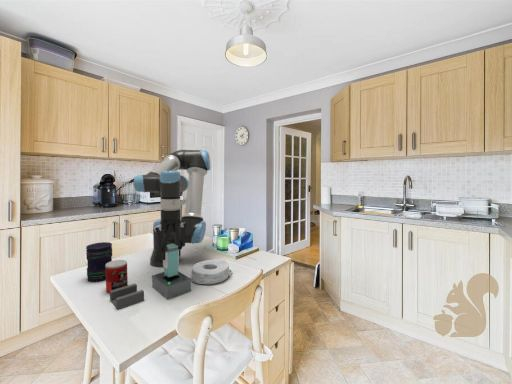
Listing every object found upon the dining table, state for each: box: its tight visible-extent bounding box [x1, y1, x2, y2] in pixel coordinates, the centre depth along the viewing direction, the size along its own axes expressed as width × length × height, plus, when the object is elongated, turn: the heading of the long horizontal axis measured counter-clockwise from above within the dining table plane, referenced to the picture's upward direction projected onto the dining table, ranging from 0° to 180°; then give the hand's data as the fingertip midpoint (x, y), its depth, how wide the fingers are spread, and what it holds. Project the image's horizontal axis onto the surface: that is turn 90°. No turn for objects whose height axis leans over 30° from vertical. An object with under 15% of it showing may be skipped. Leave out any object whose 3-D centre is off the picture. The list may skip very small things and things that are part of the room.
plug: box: [163, 244, 179, 277], centre depth 99 cm, size 4×4×12 cm
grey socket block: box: [151, 270, 192, 300], centre depth 100 cm, size 14×10×6 cm
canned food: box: [105, 259, 129, 294], centre depth 99 cm, size 8×8×11 cm
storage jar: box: [85, 241, 113, 283], centre depth 109 cm, size 10×10×15 cm
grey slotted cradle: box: [109, 283, 145, 311], centre depth 90 cm, size 9×9×4 cm
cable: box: [190, 259, 233, 285], centre depth 112 cm, size 18×18×6 cm
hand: (171, 265), depth 99 cm, fingers closed on plug, 4 cm apart
